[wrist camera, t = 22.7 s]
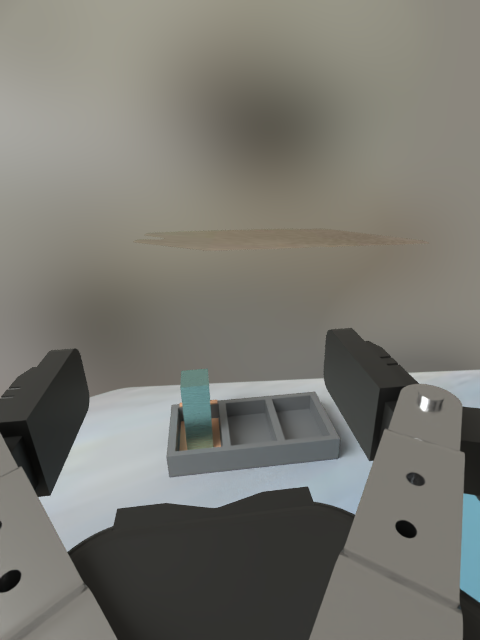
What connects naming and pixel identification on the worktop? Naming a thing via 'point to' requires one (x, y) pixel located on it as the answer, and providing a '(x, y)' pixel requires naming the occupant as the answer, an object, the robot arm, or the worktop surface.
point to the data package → (470, 547)
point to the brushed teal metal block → (196, 409)
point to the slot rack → (255, 435)
